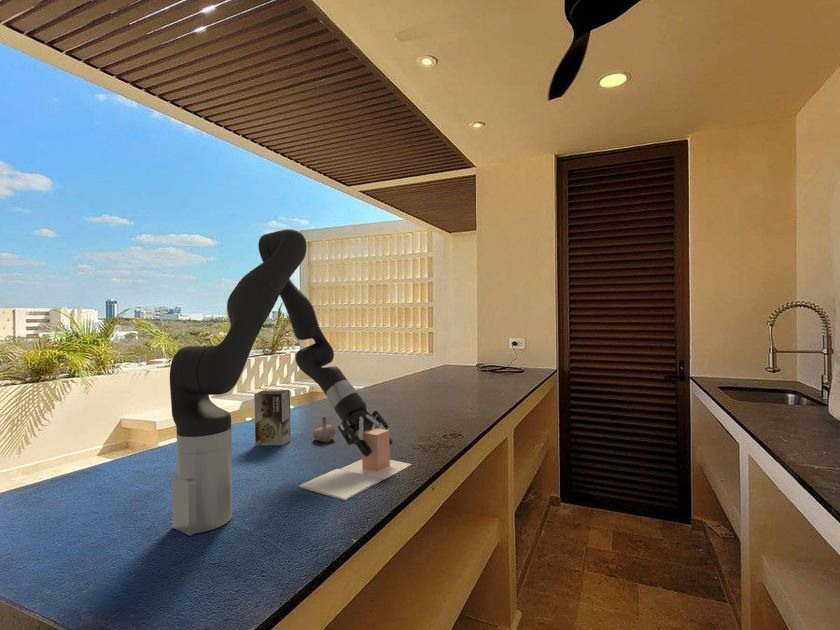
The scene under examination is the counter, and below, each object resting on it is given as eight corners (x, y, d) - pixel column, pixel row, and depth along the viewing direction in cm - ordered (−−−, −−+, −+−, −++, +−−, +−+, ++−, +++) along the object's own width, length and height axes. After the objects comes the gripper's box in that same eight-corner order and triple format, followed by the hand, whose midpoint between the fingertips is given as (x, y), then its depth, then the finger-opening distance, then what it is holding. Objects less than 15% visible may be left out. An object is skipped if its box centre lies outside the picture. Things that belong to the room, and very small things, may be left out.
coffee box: (291, 440, 131) (290, 389, 132) (282, 446, 125) (282, 393, 125) (264, 439, 132) (263, 389, 132) (254, 445, 126) (253, 393, 126)
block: (377, 471, 102) (377, 435, 102) (362, 467, 104) (361, 432, 104) (389, 465, 106) (389, 430, 106) (374, 462, 109) (374, 427, 109)
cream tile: (383, 480, 96) (383, 479, 96) (339, 469, 104) (339, 469, 104) (411, 464, 106) (411, 464, 106) (370, 456, 114) (370, 455, 114)
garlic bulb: (329, 444, 126) (329, 418, 126) (307, 443, 128) (307, 417, 128) (339, 437, 133) (339, 413, 134) (318, 436, 135) (318, 412, 135)
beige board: (345, 501, 85) (345, 498, 85) (299, 487, 93) (299, 485, 93) (380, 481, 95) (380, 479, 95) (336, 471, 103) (336, 468, 103)
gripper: (334, 396, 103) (370, 448, 97) (370, 387, 115) (404, 434, 109) (319, 414, 106) (353, 467, 100) (356, 405, 118) (388, 451, 112)
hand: (380, 449), depth 104 cm, fingers open, 8 cm apart
